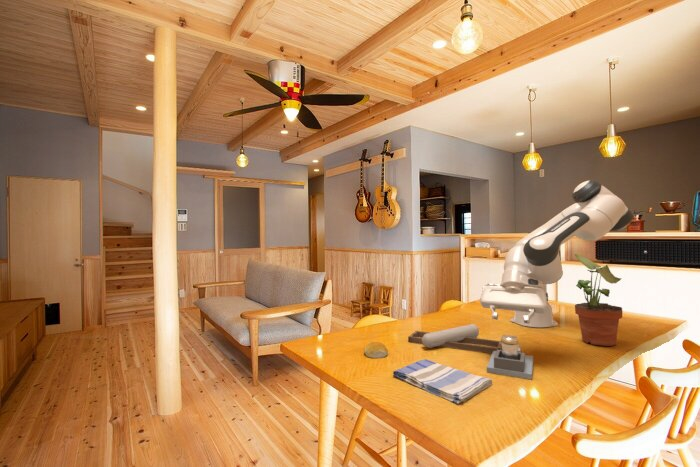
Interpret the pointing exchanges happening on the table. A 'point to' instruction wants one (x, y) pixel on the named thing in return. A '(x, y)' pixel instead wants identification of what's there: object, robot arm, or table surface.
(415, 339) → the tube tray
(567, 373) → the table surface
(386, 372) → the table surface
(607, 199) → the robot arm
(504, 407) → the table surface
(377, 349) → the bread roll
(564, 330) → the table surface
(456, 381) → the dish towel
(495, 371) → the plate
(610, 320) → the potted plant
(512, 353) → the clear cylindrical piece
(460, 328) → the tube
